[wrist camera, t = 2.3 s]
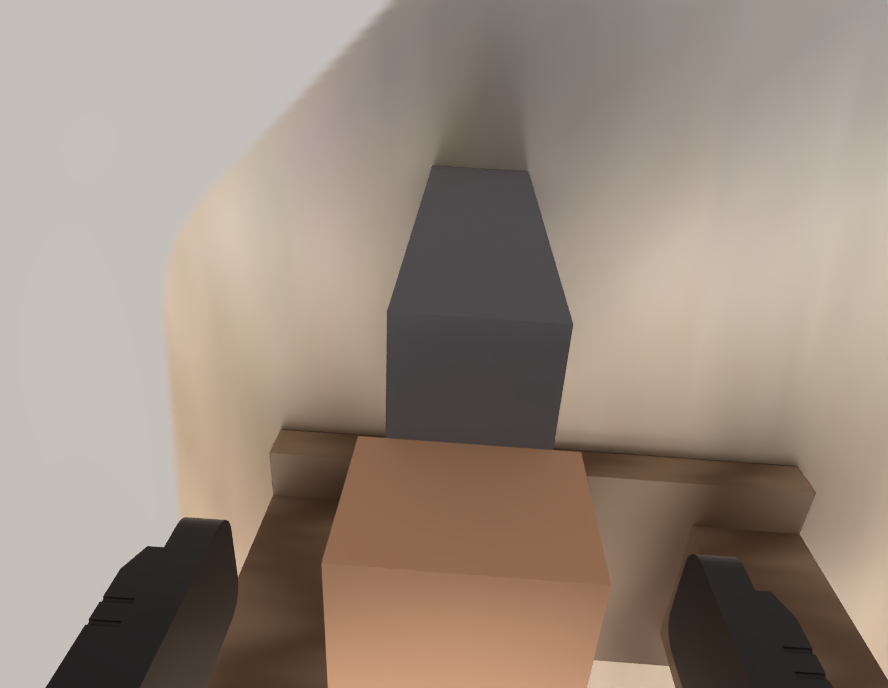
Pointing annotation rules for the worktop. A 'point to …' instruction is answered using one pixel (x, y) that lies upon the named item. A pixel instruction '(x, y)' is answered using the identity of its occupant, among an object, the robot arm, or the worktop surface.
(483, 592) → the peach and grey blocks
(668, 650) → the hook stand
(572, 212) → the worktop surface
